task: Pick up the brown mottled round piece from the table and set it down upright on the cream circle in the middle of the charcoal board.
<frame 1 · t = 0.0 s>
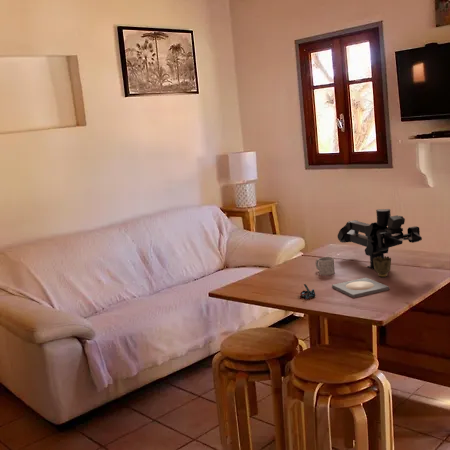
hand: (411, 240, 232), 17 cm above the table, tool horizontal, fingers open, 9 cm apart
mug: (324, 273, 259), on the table
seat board: (360, 288, 232), on the table
brown mottled round piece: (382, 277, 244), on the table
dark blue lumpy piece: (308, 298, 229), on the table
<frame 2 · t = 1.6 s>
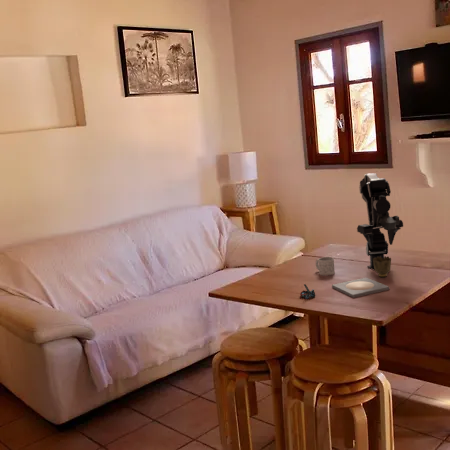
hand: (381, 246, 242), 13 cm above the table, tool pointing down, fingers open, 9 cm apart
nothing on the table moved.
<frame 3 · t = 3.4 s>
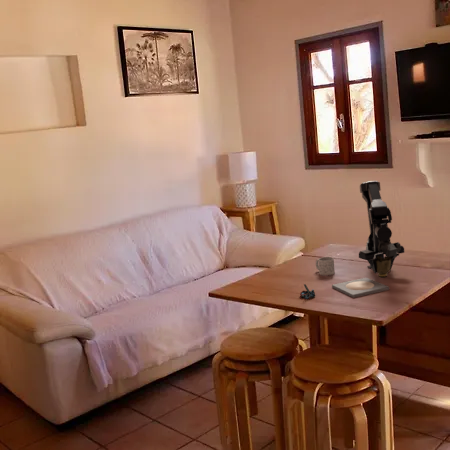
hand: (382, 272, 244), 2 cm above the table, tool pointing down, fingers closed on brown mottled round piece, 6 cm apart
brown mottled round piece: (382, 277, 244), on the table, touching gripper
everything else where it was.
when the fingers open (4 cm above the table, at t = 9.0 s): brown mottled round piece stays where it is, resting on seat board.
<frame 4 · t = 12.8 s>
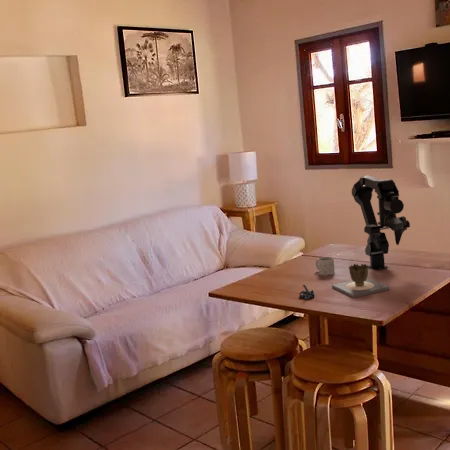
hand: (388, 246, 244), 12 cm above the table, tool pointing down, fingers open, 9 cm apart
brown mottled round piece: (359, 285, 232), point 1 cm above the table, touching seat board
everything else where it was.
at the end: brown mottled round piece inside the target area on the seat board (0.0 cm from its centre), point 1.1 cm above the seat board's base; brown mottled round piece tilted 0°; the gripper is holding nothing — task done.
